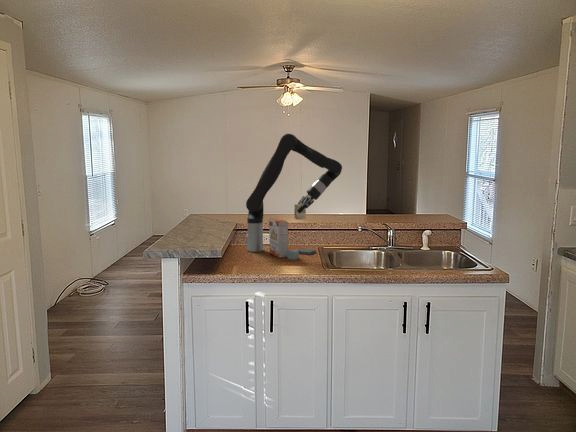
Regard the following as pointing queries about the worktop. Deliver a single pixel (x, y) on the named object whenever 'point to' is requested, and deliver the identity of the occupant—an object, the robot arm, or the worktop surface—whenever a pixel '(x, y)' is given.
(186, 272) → the worktop surface
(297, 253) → the slate cube
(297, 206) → the birch block
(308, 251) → the charcoal pad
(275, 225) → the cracker box
